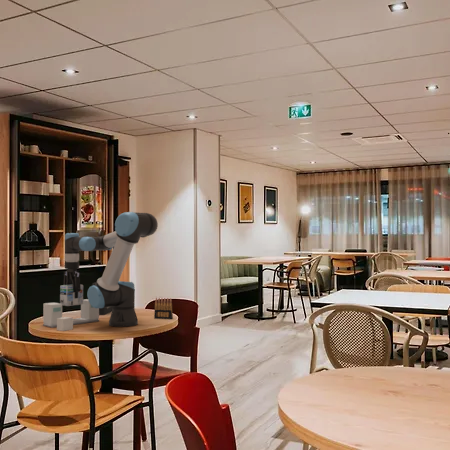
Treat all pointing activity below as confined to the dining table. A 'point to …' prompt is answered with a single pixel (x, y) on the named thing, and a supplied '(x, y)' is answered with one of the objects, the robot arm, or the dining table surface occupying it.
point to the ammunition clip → (163, 309)
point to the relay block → (64, 323)
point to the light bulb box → (69, 295)
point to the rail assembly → (87, 315)
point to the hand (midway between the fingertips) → (71, 303)
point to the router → (103, 310)
